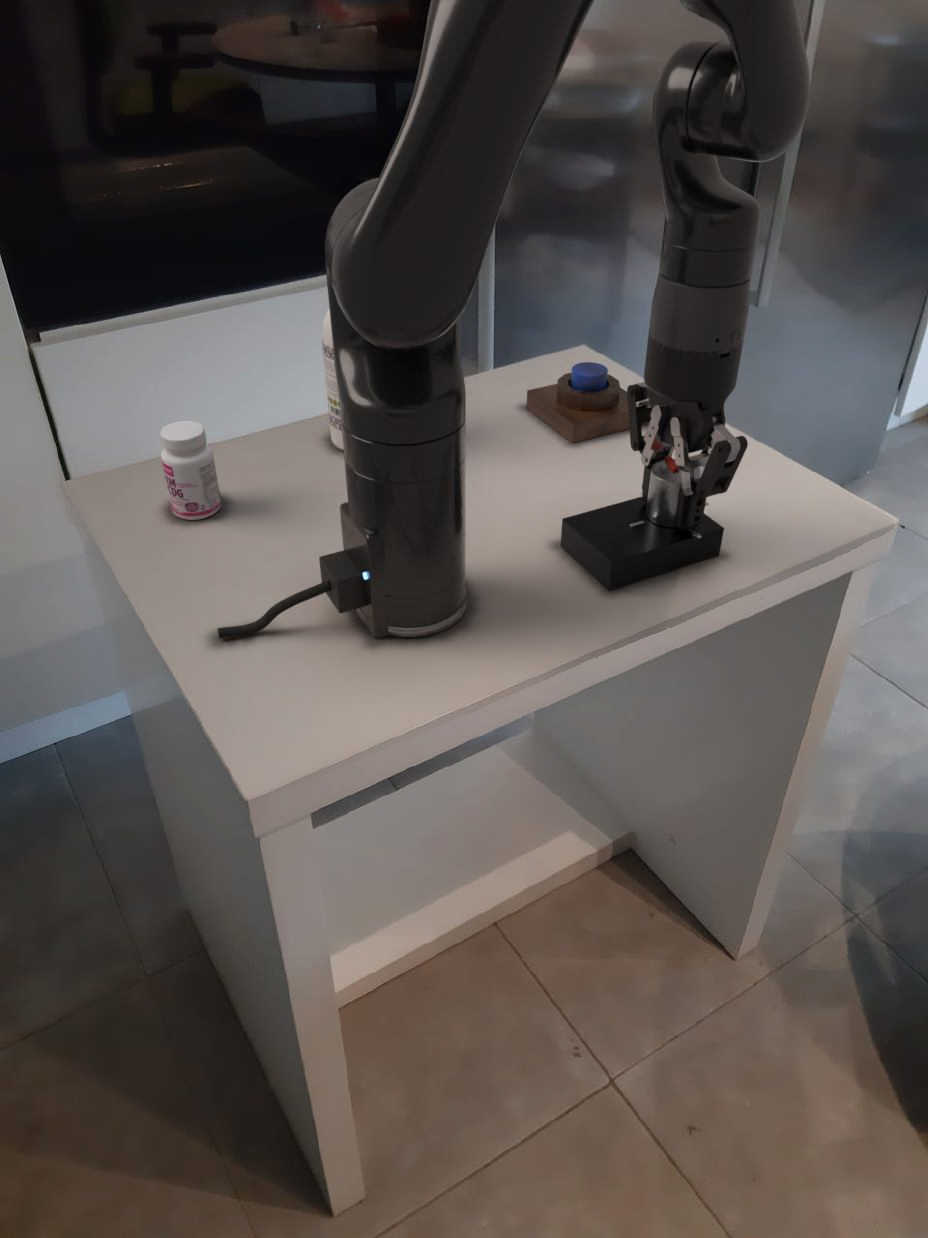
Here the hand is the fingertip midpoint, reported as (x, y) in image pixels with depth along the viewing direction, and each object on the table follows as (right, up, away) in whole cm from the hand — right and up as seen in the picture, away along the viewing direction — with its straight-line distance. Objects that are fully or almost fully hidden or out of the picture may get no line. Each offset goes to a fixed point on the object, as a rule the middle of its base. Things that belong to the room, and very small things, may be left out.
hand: (670, 513), depth 89 cm
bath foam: (-30, +10, +19) cm, 36 cm away
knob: (0, 0, 0) cm, 0 cm away
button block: (-5, +14, +23) cm, 27 cm away
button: (-5, +17, +21) cm, 27 cm away
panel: (-3, -3, +1) cm, 4 cm away
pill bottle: (-45, +1, +7) cm, 45 cm away
